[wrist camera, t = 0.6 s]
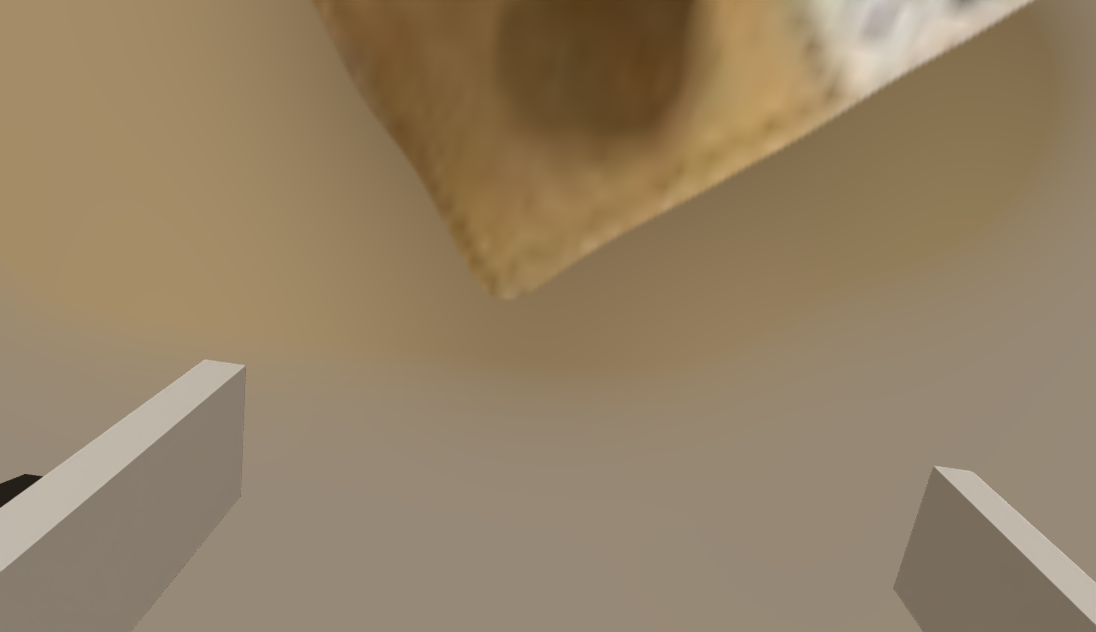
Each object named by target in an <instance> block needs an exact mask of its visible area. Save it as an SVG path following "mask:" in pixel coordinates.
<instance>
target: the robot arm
mask: <svg viewBox="0 0 1096 632" xmlns="http://www.w3.org/2000/svg"><path fill="white" fill-rule="evenodd" d="M245 373H246V365H241V364H234V363H227V362H220V361H213V360H207V359H204V360H203V361H202V362H200V363H199V364H198V365H196V366H195V367H193V368H192V369H191V370H189V371H188V372H187V373H185V374H184V375H182V376H181V377H180V378H178V379H177V380H176V381H174V382H173V383H171V384H170V385H169V386H167V387H166V388H165V389H163V390H162V391H160V392H159V393H158V394H156V395H155V396H154V397H152V398H151V399H149V400H148V401H147V402H145V403H144V404H143V405H141V406H140V407H138V408H137V409H136V410H134V411H133V412H132V413H130V414H129V415H127V416H126V417H125V418H123V419H122V420H121V421H119V422H118V423H116V424H115V425H114V426H112V427H111V428H110V429H108V430H107V431H105V432H104V433H103V434H101V435H100V436H99V437H97V438H96V439H94V440H93V441H92V442H90V443H89V444H88V445H86V446H85V447H83V448H82V449H81V450H79V451H78V452H77V453H75V454H74V455H73V456H71V457H70V458H68V459H67V460H66V461H65V462H63V463H62V464H60V465H59V466H57V467H56V468H55V469H53V470H52V471H50V472H49V473H48V474H46V475H45V476H44V477H42V476H36V475H28V474H24V475H22V476H19V477H16V478H14V479H11V480H9V481H6V482H4V483H1V484H0V632H131V631H132V630H133V629H134V627H135V626H136V625H137V623H138V622H139V621H140V620H141V619H142V617H143V616H144V615H145V614H146V613H147V611H148V610H149V609H150V608H151V606H152V605H153V604H154V603H155V601H156V600H157V599H158V598H159V596H160V595H161V594H162V593H163V592H164V590H165V589H166V588H167V587H168V585H169V584H170V583H171V582H172V580H173V579H174V578H175V577H176V575H177V574H178V573H179V572H180V570H181V569H182V568H183V567H184V566H185V564H186V563H187V562H188V561H189V559H190V558H191V557H192V556H193V554H194V553H195V552H196V551H197V549H198V548H199V547H200V546H201V544H202V543H203V542H204V541H205V540H206V538H207V537H208V536H209V535H210V533H211V532H212V531H213V530H214V528H215V527H216V526H217V525H218V523H219V522H220V521H221V520H222V518H223V517H224V516H225V515H226V513H227V512H228V511H229V510H230V509H231V507H232V506H233V505H234V504H235V502H236V501H237V500H238V499H239V497H240V496H241V479H242V478H241V477H242V451H243V426H244V402H245V401H244V400H245V376H246V374H245ZM893 589H894V590H895V592H896V593H897V595H898V596H899V597H900V599H901V600H902V602H903V603H904V605H905V606H906V608H907V609H908V611H909V612H910V614H911V615H912V617H913V618H914V619H915V621H916V622H917V624H918V625H919V627H920V628H921V630H922V631H923V632H1096V582H1095V581H1093V580H1092V579H1091V578H1090V577H1089V576H1088V575H1087V574H1086V573H1085V572H1083V571H1082V570H1081V569H1080V568H1079V567H1078V566H1077V565H1076V564H1075V563H1073V562H1072V561H1071V560H1070V559H1069V558H1068V557H1067V556H1066V555H1065V554H1064V553H1062V552H1061V551H1060V550H1059V549H1058V548H1057V547H1056V546H1055V545H1053V544H1052V543H1051V542H1050V541H1049V540H1048V539H1047V538H1046V537H1045V536H1044V535H1042V534H1041V533H1040V532H1039V531H1038V530H1037V529H1036V528H1035V527H1034V526H1032V525H1031V524H1030V523H1029V522H1028V521H1027V520H1026V519H1025V518H1024V517H1022V516H1021V515H1020V514H1019V513H1018V512H1017V511H1016V510H1015V509H1014V508H1012V507H1011V506H1010V505H1009V504H1008V503H1007V502H1005V500H1004V499H1002V498H1001V497H1000V496H999V495H998V494H997V493H996V492H995V491H993V490H992V489H991V488H990V487H989V486H988V485H987V484H986V483H985V482H983V480H981V479H980V478H979V477H978V476H977V475H976V474H975V473H973V472H972V471H966V470H959V469H952V468H945V467H938V466H933V469H932V472H931V475H930V478H929V481H928V484H927V487H926V490H925V493H924V496H923V499H922V502H921V505H920V508H919V511H918V514H917V518H916V520H915V523H914V527H913V530H912V532H911V536H910V539H909V542H908V545H907V548H906V551H905V554H904V557H903V560H902V563H901V566H900V569H899V572H898V575H897V579H896V581H895V584H894V587H893Z"/></svg>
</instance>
